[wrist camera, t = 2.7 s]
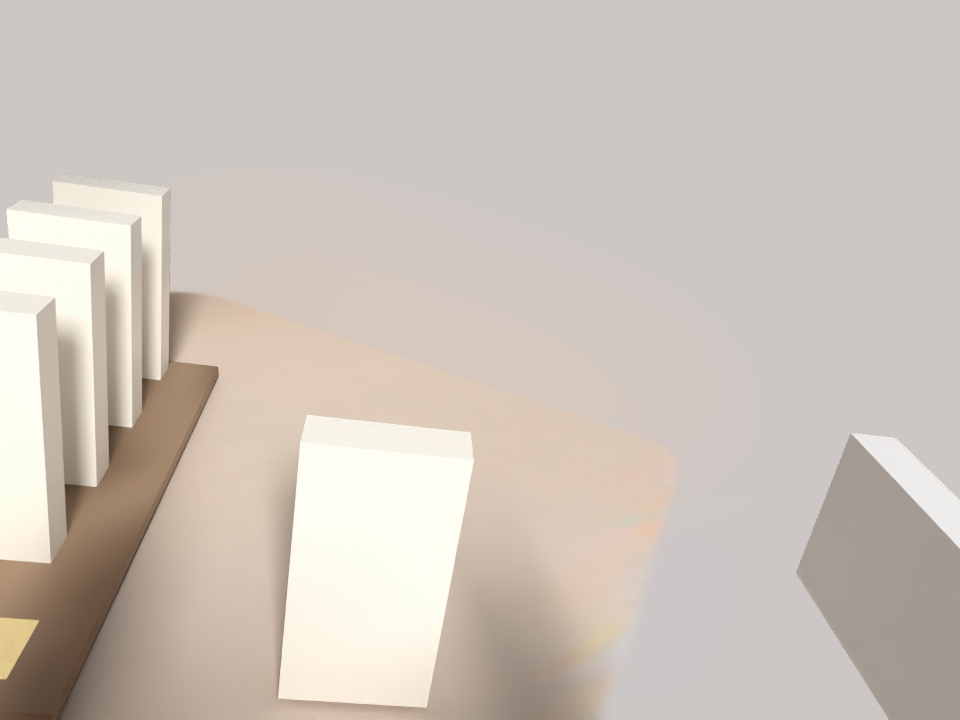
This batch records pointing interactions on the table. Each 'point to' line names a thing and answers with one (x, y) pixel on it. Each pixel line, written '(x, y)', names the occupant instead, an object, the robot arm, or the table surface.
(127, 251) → the domino
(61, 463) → the domino
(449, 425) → the table surface
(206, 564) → the table surface
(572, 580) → the table surface
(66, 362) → the domino
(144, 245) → the domino
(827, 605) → the robot arm
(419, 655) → the domino
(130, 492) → the board
